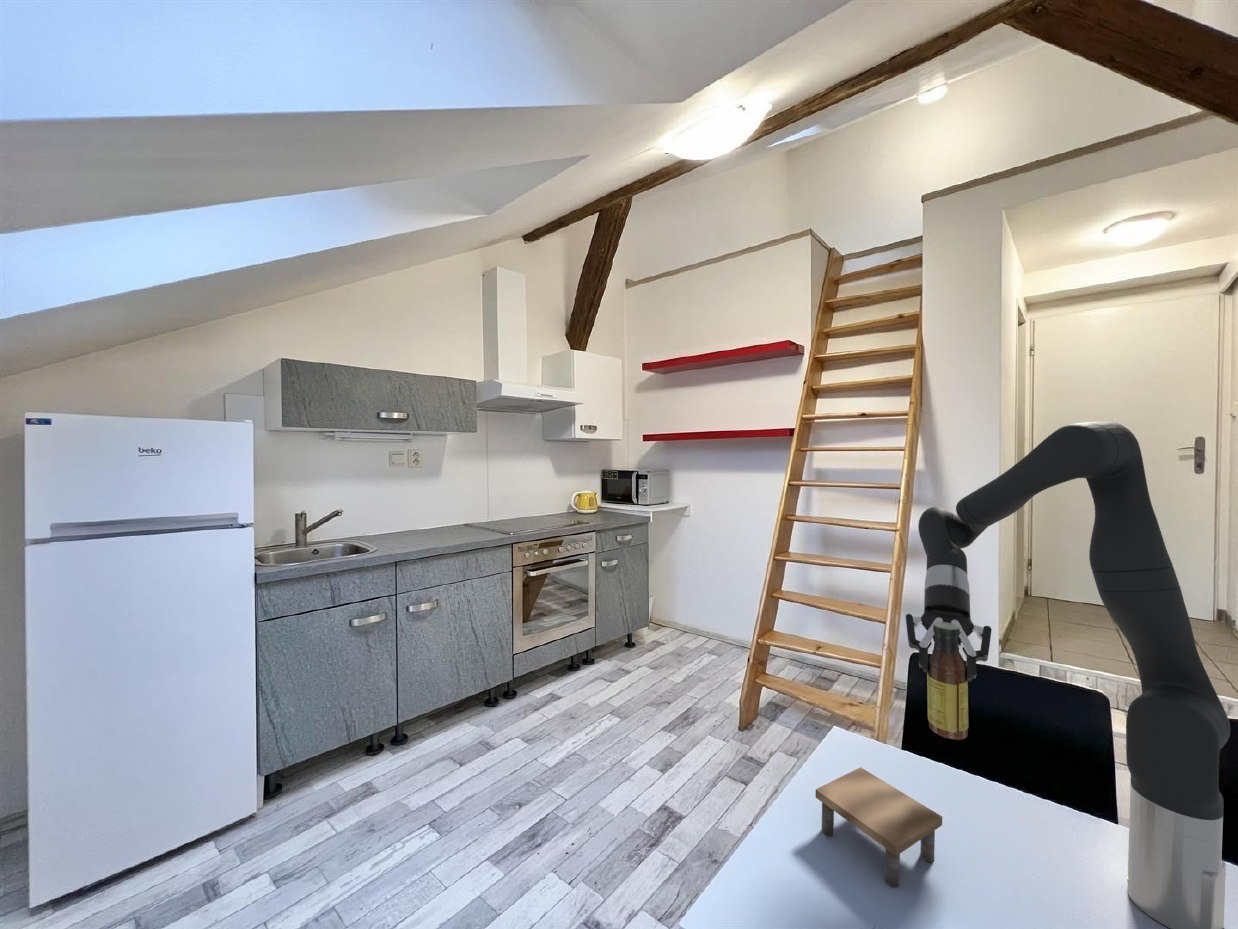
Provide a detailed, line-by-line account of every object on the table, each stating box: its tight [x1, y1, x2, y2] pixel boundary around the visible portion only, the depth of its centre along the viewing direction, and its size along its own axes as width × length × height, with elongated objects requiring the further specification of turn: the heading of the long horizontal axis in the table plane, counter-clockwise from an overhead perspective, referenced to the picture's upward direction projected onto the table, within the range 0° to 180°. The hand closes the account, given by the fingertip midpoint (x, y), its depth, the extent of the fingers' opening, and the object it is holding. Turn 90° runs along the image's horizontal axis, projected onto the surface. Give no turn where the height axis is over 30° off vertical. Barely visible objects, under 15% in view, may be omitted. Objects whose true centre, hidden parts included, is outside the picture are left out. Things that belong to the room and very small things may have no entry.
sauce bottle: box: [926, 622, 969, 741], centre depth 91 cm, size 7×6×20 cm
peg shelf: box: [815, 766, 943, 889], centre depth 87 cm, size 15×13×8 cm
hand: (947, 674), depth 89 cm, fingers closed on sauce bottle, 6 cm apart
